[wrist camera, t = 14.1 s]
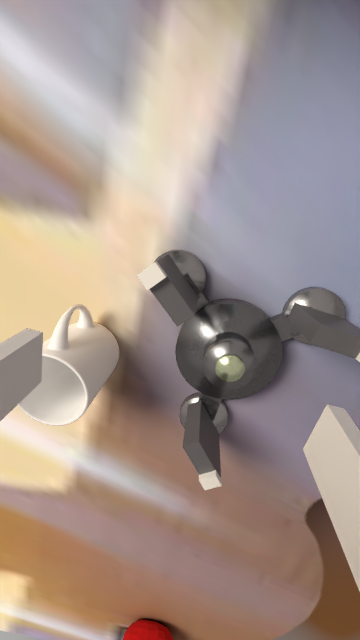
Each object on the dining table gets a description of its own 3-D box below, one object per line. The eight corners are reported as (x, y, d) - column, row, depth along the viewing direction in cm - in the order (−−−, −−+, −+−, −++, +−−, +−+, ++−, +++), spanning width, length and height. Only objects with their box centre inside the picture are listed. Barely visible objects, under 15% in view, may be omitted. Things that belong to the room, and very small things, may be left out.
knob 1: (198, 295, 32) (194, 317, 24) (184, 305, 32) (176, 329, 24) (168, 253, 30) (154, 261, 23) (154, 264, 31) (136, 275, 23)
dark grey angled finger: (187, 405, 37) (181, 451, 29) (201, 400, 36) (199, 446, 28) (205, 437, 38) (204, 490, 30) (219, 433, 38) (221, 485, 30)
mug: (126, 301, 34) (91, 330, 24) (118, 379, 38) (86, 433, 28) (62, 289, 35) (2, 313, 25) (61, 368, 39) (9, 417, 29)
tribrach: (157, 243, 32) (146, 246, 26) (350, 295, 31) (382, 310, 25) (122, 408, 40) (107, 438, 34) (273, 451, 39) (284, 488, 34)
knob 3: (287, 318, 31) (312, 347, 24) (295, 302, 31) (323, 326, 23) (335, 334, 31) (376, 368, 24) (344, 318, 31) (389, 347, 23)
